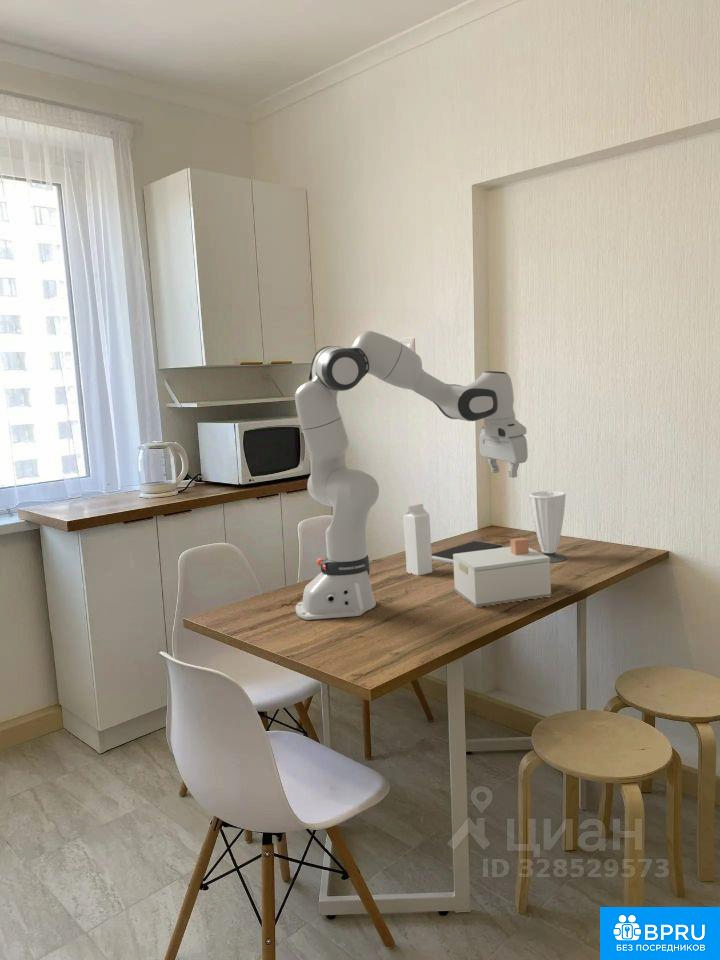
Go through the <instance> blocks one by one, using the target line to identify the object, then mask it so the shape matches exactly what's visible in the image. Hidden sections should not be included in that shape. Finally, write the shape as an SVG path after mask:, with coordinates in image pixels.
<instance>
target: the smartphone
mask: <svg viewBox="0 0 720 960" xmlns="http://www.w3.org/2000/svg"><path fill="white" fill-rule="evenodd" d="M503 547H504V545H503V544H500V543H499V544H497V543H493V542H492V543H491V542H487V541H479V540H473V541H470V542H466V543H463V544H460V545H457V546H453V547H450V548H446V549H443V550H440V551H438V552H434V553H433V552H432V561H435V560H436V562H440V561H441V563H445V562H446V563H447V564H450V563H452V564H451V565H454V564H453V554H457V553H464V552H472V551H480V550H488V549H496V548H503ZM446 563H445V564H446Z"/></svg>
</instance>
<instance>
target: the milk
mask: <svg viewBox="0 0 720 960" xmlns="http://www.w3.org/2000/svg"><path fill="white" fill-rule="evenodd" d="M407 508H408V511H407V512H406V513H404V514H403V517H402V519H403V529H404V530H403V531H404V532H403V533H404V534H403V535H404V549H405V565H406V566H405V567H406V573H407V572H408V574H411V573H412V574H411V575H414V576H417V575H418V576H419V575H420V576H423V575H426V574H430V573H433V560H432V554H433V552H432V540H431V539H432V538H431V520H430V519H431V518H430V514H429V513H428V512H427V510H426V509H424V504H423V503H420V504H419V503H418V504H414V505H409V506H408V507H407ZM418 576H417V577H418ZM420 576H419V577H420Z"/></svg>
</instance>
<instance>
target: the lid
mask: <svg viewBox="0 0 720 960" xmlns="http://www.w3.org/2000/svg"><path fill="white" fill-rule="evenodd" d="M509 541H510V546H503V548H496V549H488V550H480V551H472V552H464V553H457V554H453V558H455V559H456V560H458V561H460V562H461V563H463V564H464V565H466V566H467V567H469V568H470V569H472V570H473V571H479V570H486V569H494V568H501V567H509V566H516V565H524V564H531V563H538V562H546V561H550V557H548V556H546V555H544V554H542V553H543V552H539V551H537V550H535V549H533V548H531V547H529V539H528V538H526V537H516V538H515V537H514V538H510V540H509Z"/></svg>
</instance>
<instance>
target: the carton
mask: <svg viewBox="0 0 720 960" xmlns="http://www.w3.org/2000/svg"><path fill="white" fill-rule="evenodd" d="M452 565H453V578H454V580H453V581H454V592H455V593H456V594H457V593H458V594H457V595H459V596H460V597H461V596H462V597H461V598H462V599H464V600H465V599H466V600H467V602H468V601H469V602H470V603H471V604H470V603H469V602H468V603H469V604H470V605H472V604H473V605H474V606H475V607H479V608H482V607H481V606H486V607H488V606H487V605H492V604H499V603H505V602H512V601H519V600H526V599H532V598H540V597H546V596H551V597H552V590H551V589H552V586H551V582H552V581H551V579H552V578H551V563H550V561H546V562H538V563H531V564H524V565H516V566H509V567H501V568H494V569H486V570H479V571H473V570H472V569H470V568H469V567H467V566H466V565H464V564H463V563H461V562H460V561H458V560H456V559H455V558H453V564H452ZM466 600H465V601H466ZM473 605H472V606H473ZM474 606H473V607H474ZM475 607H474V608H475Z"/></svg>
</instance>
